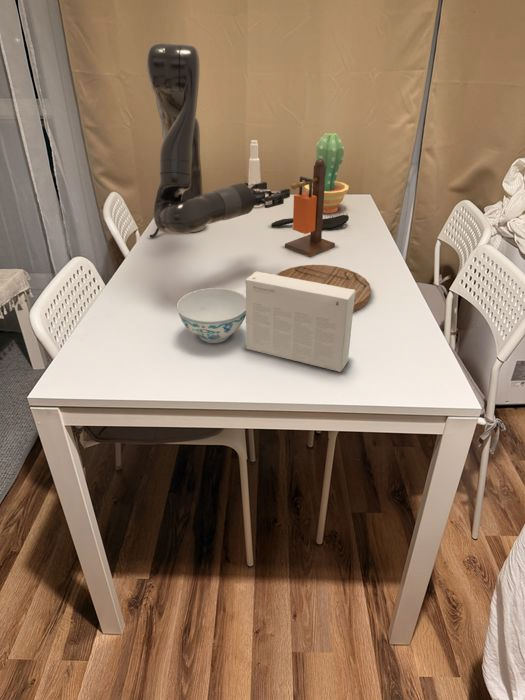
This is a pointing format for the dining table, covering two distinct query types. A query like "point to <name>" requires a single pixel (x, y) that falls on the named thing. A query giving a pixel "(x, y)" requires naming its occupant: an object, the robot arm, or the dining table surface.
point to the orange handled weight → (304, 210)
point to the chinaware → (212, 313)
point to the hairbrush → (326, 224)
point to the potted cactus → (331, 171)
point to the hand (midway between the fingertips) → (277, 189)
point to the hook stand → (314, 241)
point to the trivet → (333, 280)
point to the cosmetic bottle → (254, 165)
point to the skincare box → (299, 320)
